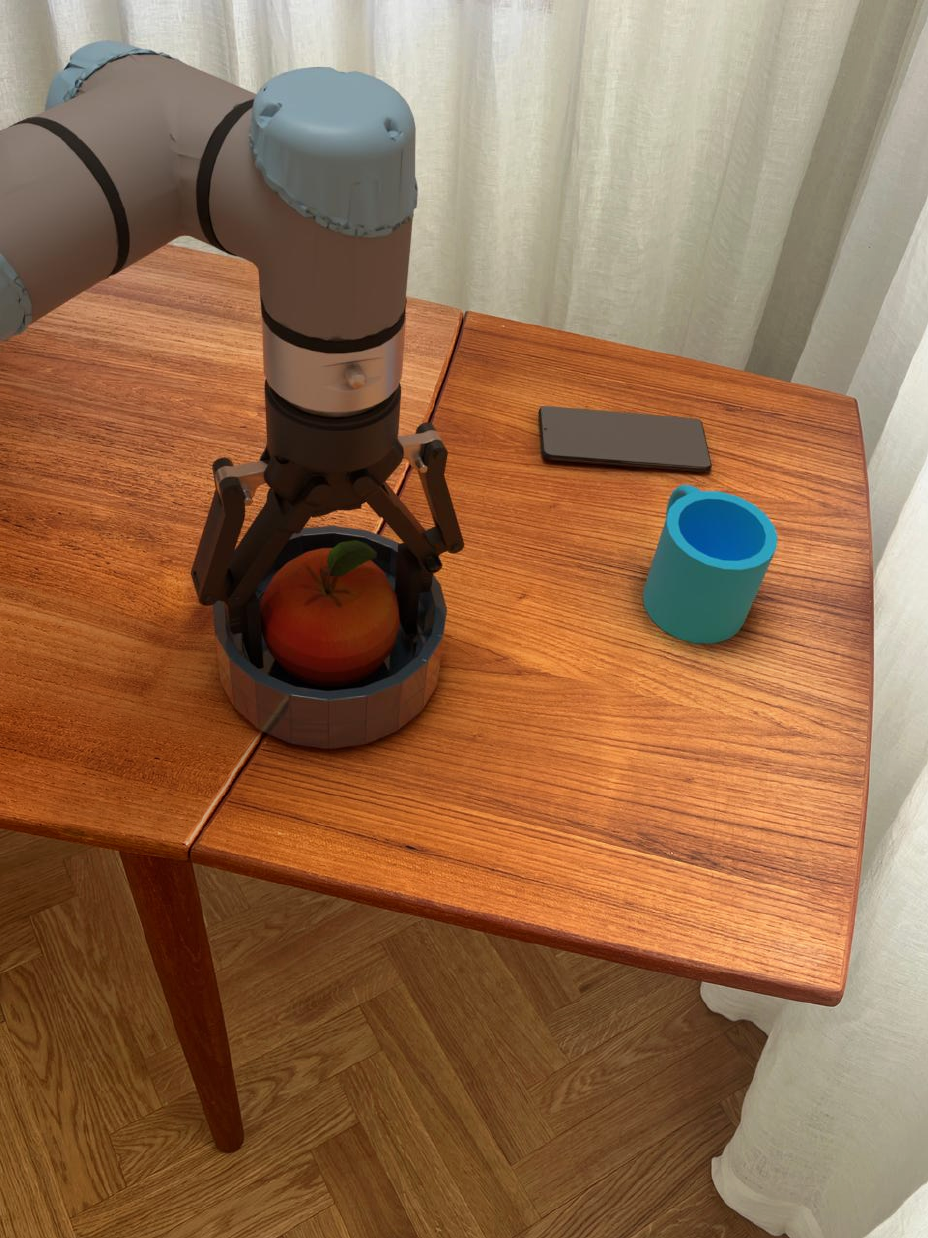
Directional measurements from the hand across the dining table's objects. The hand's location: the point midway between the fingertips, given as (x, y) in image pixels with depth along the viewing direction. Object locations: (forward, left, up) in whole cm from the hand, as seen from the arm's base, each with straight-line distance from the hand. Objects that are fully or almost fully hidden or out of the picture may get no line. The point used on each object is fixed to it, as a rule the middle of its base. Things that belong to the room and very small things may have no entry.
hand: (330, 636), depth 78 cm
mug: (+21, +20, -3) cm, 29 cm away
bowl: (0, 0, -3) cm, 3 cm away
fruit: (0, 0, -2) cm, 2 cm away
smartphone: (+11, +34, -3) cm, 36 cm away
